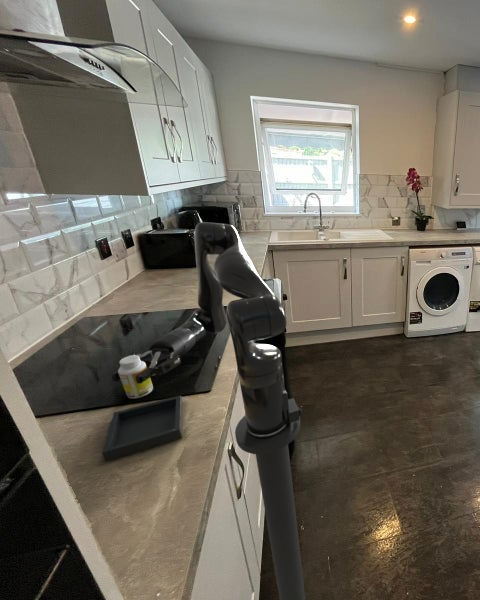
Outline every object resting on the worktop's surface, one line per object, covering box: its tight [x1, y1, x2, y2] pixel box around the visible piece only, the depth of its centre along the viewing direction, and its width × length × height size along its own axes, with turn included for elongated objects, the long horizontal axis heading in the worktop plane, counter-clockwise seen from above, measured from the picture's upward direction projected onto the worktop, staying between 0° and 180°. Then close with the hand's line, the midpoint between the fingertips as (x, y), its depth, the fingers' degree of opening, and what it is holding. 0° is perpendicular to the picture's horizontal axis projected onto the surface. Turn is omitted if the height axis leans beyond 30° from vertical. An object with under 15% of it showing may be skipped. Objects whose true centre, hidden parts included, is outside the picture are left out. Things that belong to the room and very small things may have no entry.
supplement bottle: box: [117, 355, 154, 399], centre depth 82 cm, size 6×6×10 cm
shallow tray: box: [101, 395, 184, 463], centre depth 73 cm, size 13×13×2 cm
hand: (125, 379), depth 79 cm, fingers closed on supplement bottle, 5 cm apart
